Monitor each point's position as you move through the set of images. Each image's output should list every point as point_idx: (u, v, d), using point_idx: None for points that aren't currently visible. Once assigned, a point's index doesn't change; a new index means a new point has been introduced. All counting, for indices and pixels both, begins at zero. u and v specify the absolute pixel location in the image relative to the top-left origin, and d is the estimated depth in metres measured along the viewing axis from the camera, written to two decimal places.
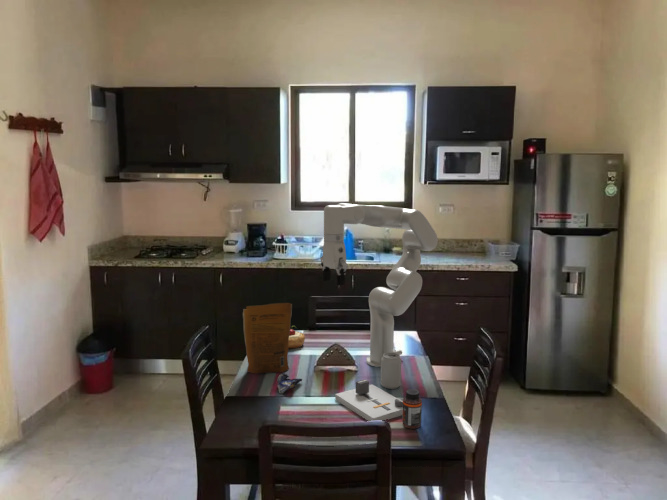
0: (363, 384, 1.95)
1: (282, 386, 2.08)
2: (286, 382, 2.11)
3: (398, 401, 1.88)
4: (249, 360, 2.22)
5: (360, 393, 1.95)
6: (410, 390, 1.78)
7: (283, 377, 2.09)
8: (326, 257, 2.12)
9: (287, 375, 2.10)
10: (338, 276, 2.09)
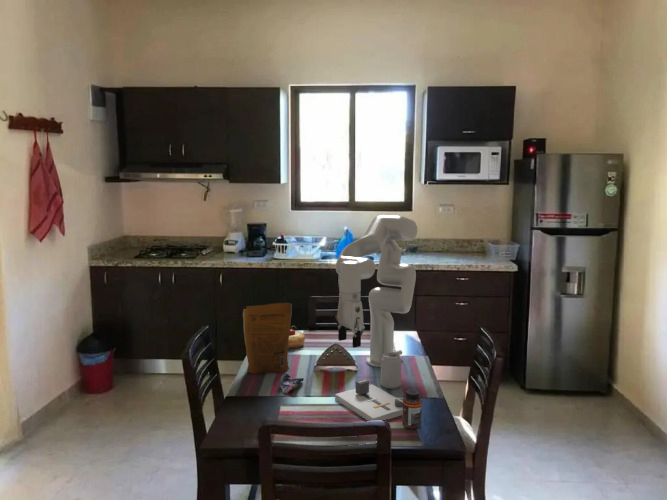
0: (363, 384, 1.95)
1: (285, 386, 2.08)
2: (287, 382, 2.11)
3: (398, 401, 1.88)
4: (249, 360, 2.22)
5: (360, 393, 1.95)
6: (410, 390, 1.78)
7: (285, 377, 2.09)
8: (342, 316, 1.99)
9: None
10: (354, 338, 1.96)
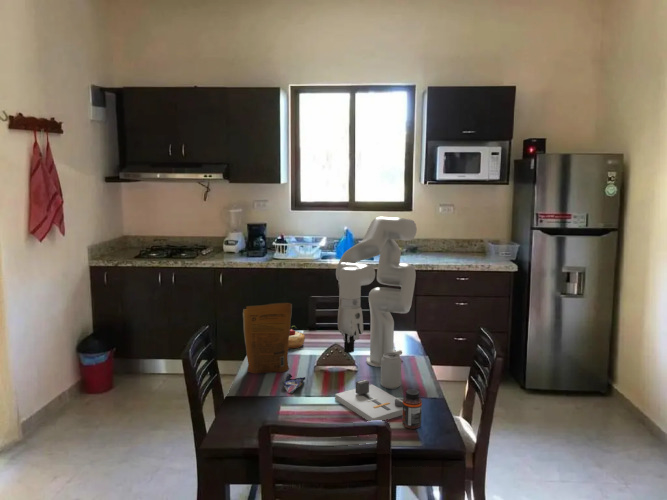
0: (363, 384, 1.95)
1: (288, 386, 2.08)
2: (289, 382, 2.11)
3: (398, 401, 1.88)
4: (249, 360, 2.22)
5: (360, 393, 1.95)
6: (410, 390, 1.78)
7: (288, 377, 2.09)
8: (341, 322, 1.99)
9: (291, 375, 2.11)
10: (347, 343, 1.99)
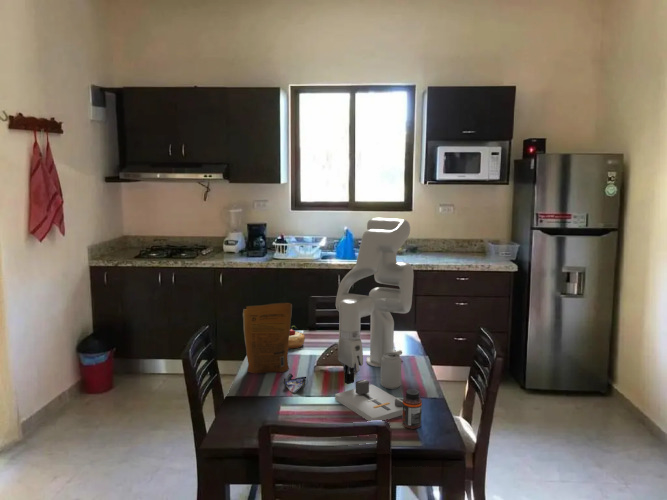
0: (363, 384, 1.95)
1: (290, 386, 2.08)
2: (291, 382, 2.11)
3: (398, 401, 1.88)
4: (249, 360, 2.22)
5: (360, 393, 1.95)
6: (410, 390, 1.78)
7: (289, 377, 2.09)
8: (342, 353, 2.01)
9: (292, 375, 2.11)
10: (347, 374, 2.02)
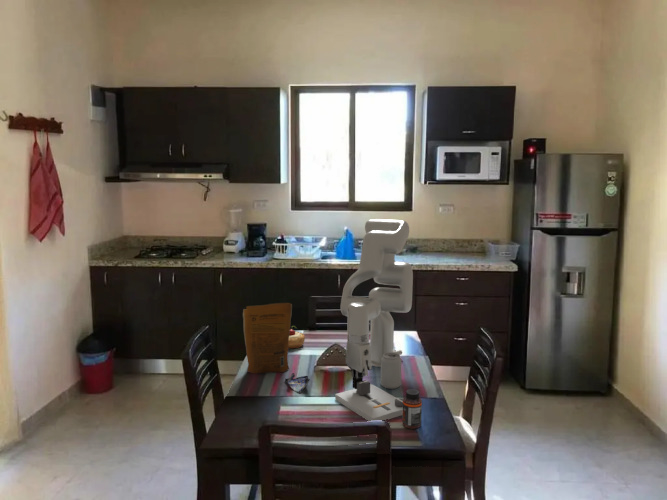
0: (364, 385, 1.95)
1: (293, 386, 2.08)
2: (292, 382, 2.12)
3: (398, 401, 1.88)
4: (249, 360, 2.22)
5: (361, 394, 1.95)
6: (410, 390, 1.78)
7: (292, 377, 2.09)
8: (350, 358, 1.97)
9: (294, 374, 2.11)
10: (356, 379, 1.97)
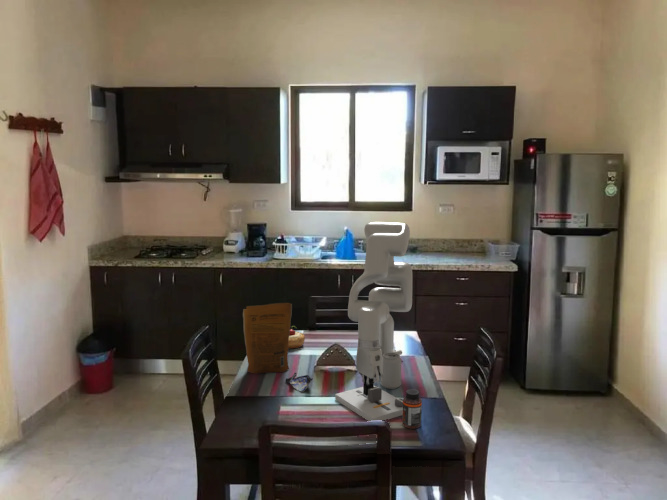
0: (375, 391, 1.89)
1: (295, 386, 2.08)
2: (293, 381, 2.12)
3: (398, 401, 1.88)
4: (249, 360, 2.22)
5: (372, 400, 1.89)
6: (410, 390, 1.78)
7: (293, 377, 2.09)
8: (360, 363, 1.92)
9: (295, 374, 2.11)
10: (367, 385, 1.92)
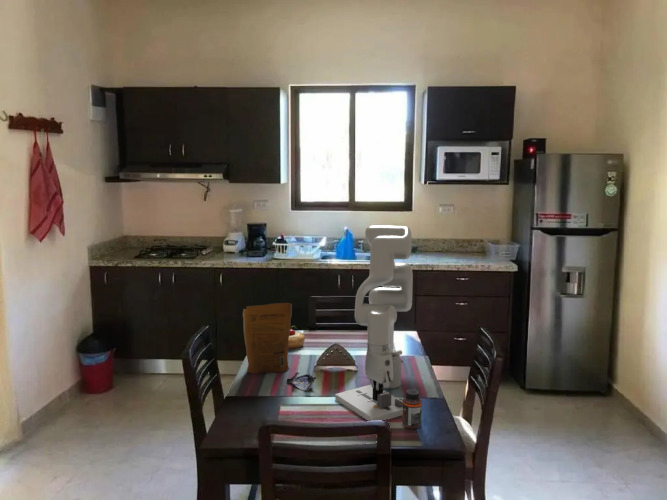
0: (385, 397, 1.85)
1: (298, 385, 2.08)
2: (295, 381, 2.12)
3: (398, 401, 1.88)
4: (249, 360, 2.22)
5: (382, 406, 1.85)
6: (410, 390, 1.78)
7: None
8: (370, 368, 1.88)
9: (296, 374, 2.12)
10: (376, 391, 1.88)
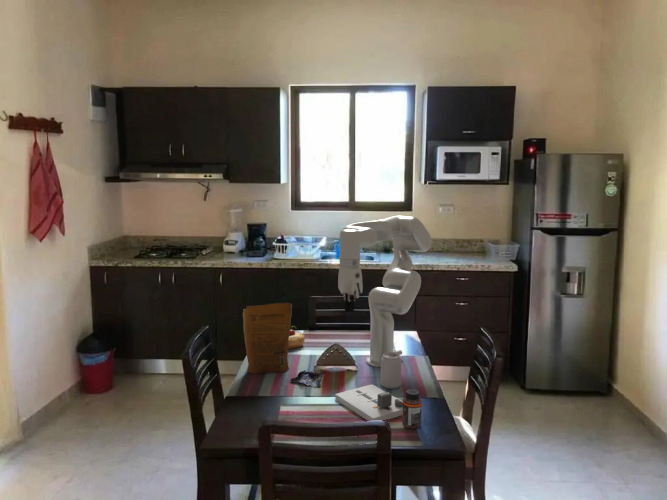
0: (385, 397, 1.85)
1: None
2: None
3: (398, 401, 1.88)
4: (249, 360, 2.22)
5: (382, 406, 1.85)
6: (410, 390, 1.78)
7: None
8: (342, 282, 2.08)
9: (300, 373, 2.13)
10: (348, 302, 2.08)
